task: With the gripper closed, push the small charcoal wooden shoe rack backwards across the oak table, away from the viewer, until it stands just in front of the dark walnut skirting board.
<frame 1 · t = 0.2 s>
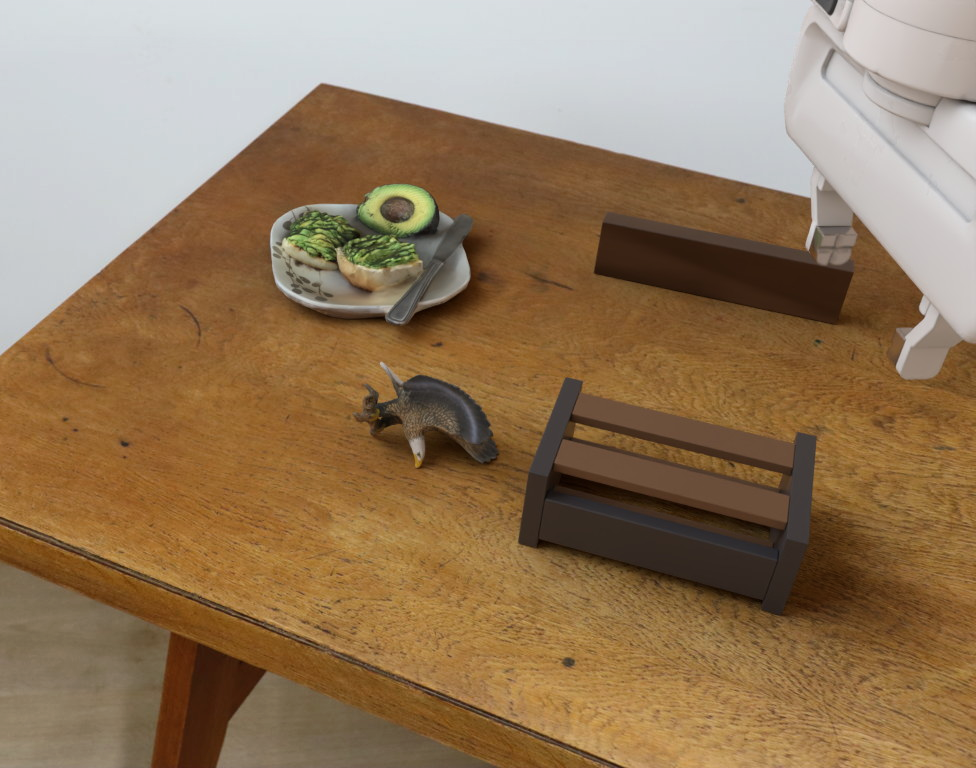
hand: (864, 310, 53), 21 cm above the table, tool pointing down, fingers open, 8 cm apart
shoe rack: (658, 524, 71), on the table
eagle figurine: (426, 450, 76), on the table
salad plate: (372, 265, 94), on the table
skirting board: (713, 292, 93), on the table
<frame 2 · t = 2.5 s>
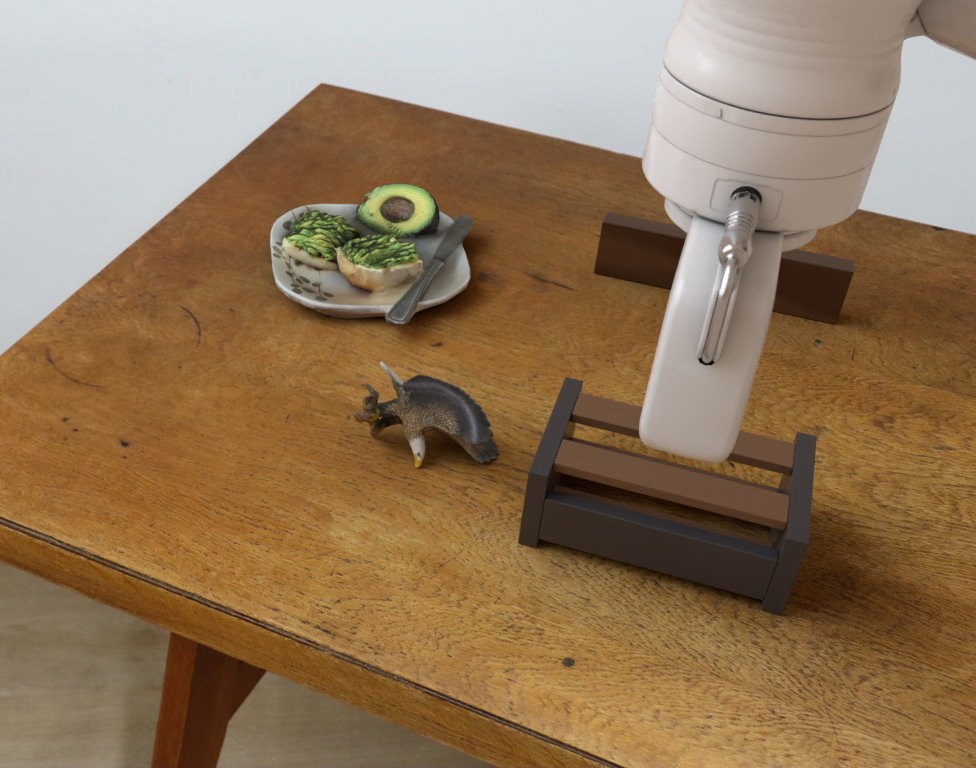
hand: (688, 410, 53), 17 cm above the table, tool pointing down, fingers closed
nothing on the table moved.
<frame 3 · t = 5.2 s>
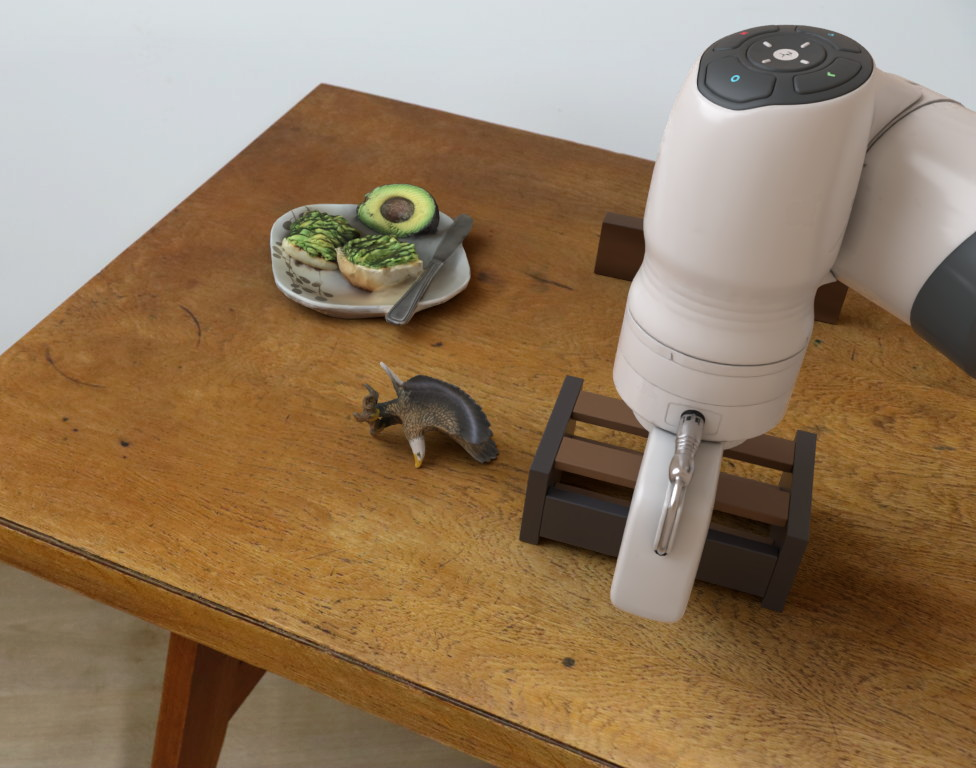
hand: (654, 554, 64), 3 cm above the table, tool pointing down, fingers closed
shoe rack: (659, 521, 71), on the table, touching gripper
everything else where it was.
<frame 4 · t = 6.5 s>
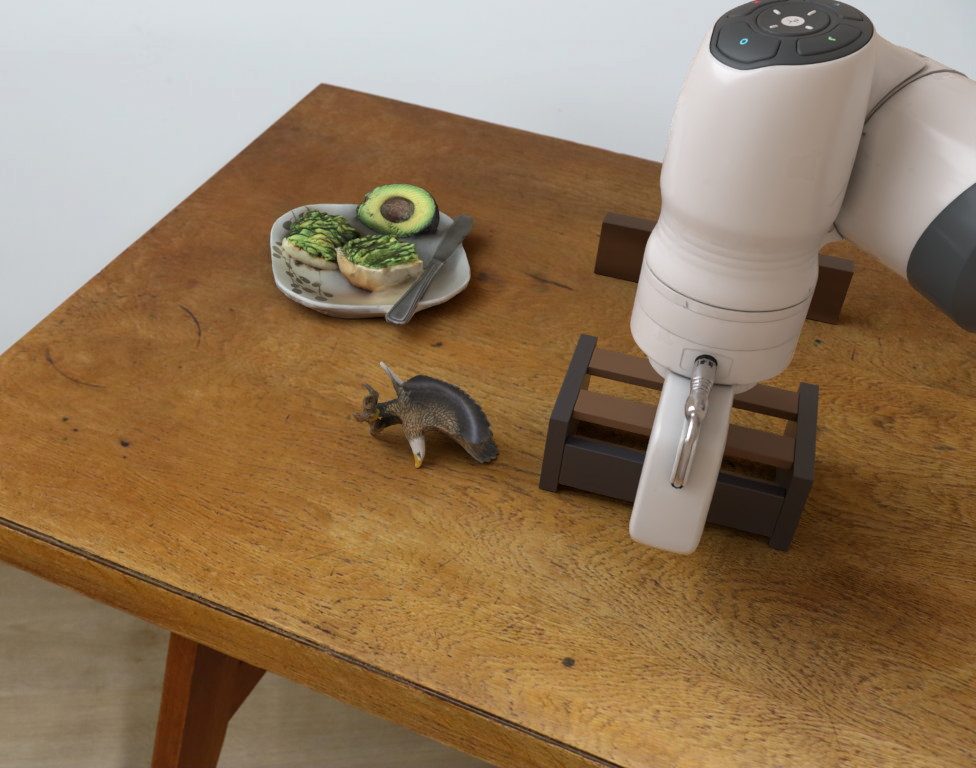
hand: (668, 499, 68), 3 cm above the table, tool pointing down, fingers closed
shoe rack: (670, 470, 75), on the table, touching gripper
everything else where it was.
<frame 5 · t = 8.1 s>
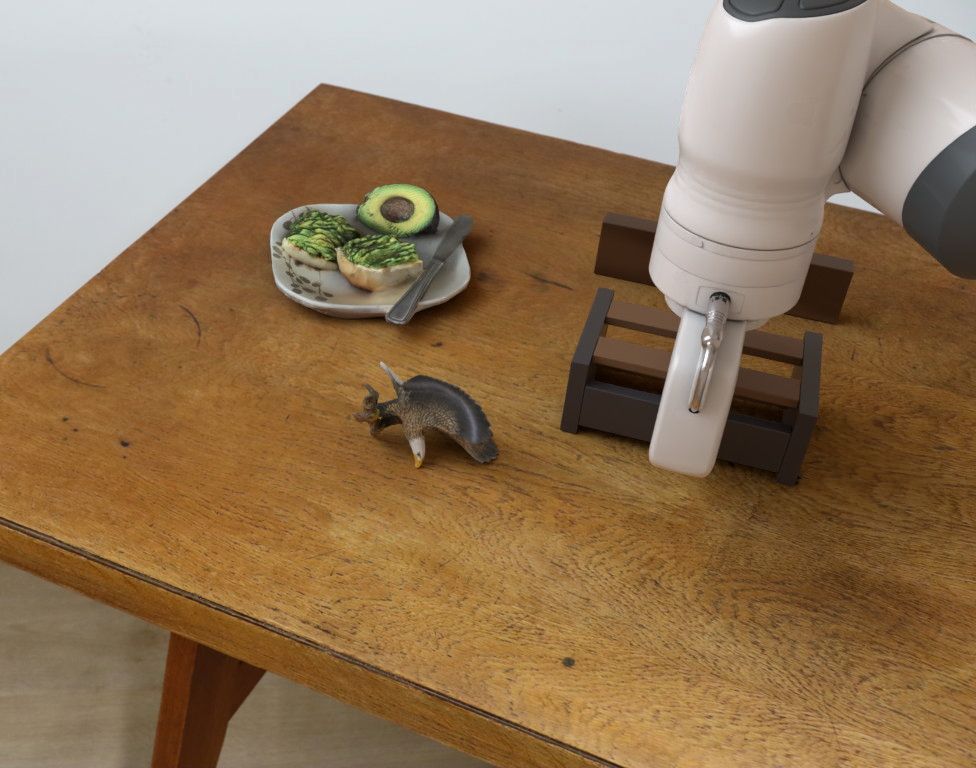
hand: (682, 436, 73), 3 cm above the table, tool pointing down, fingers closed
shoe rack: (683, 415, 80), on the table, touching gripper
everything else where it was.
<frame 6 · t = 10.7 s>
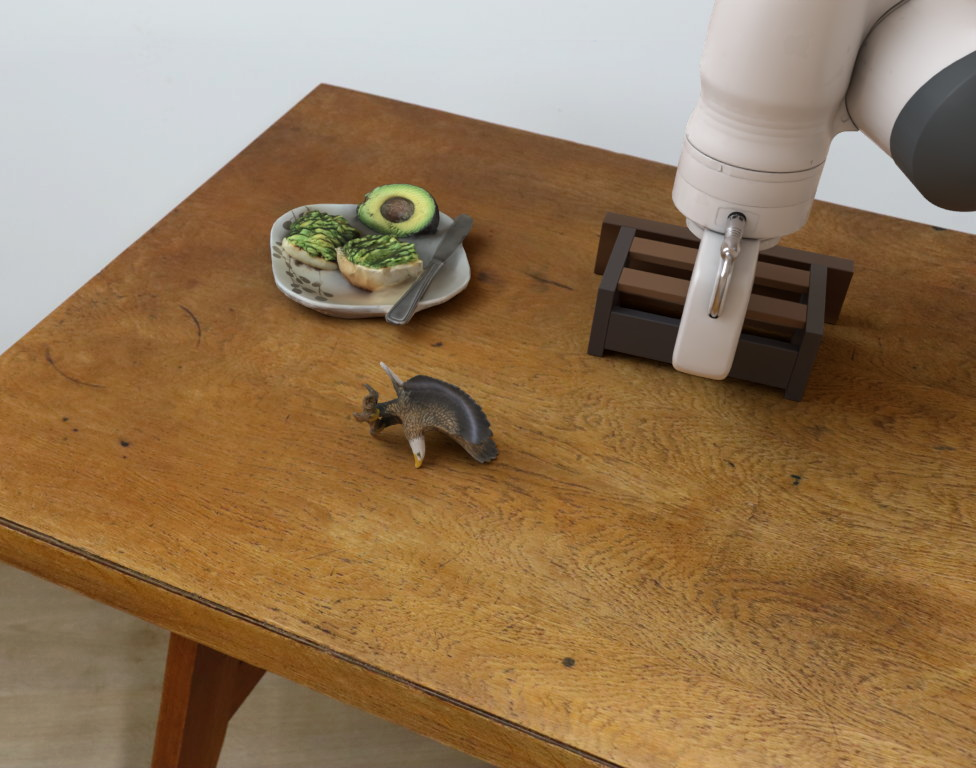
hand: (700, 355, 80), 3 cm above the table, tool pointing down, fingers closed
shoe rack: (699, 341, 87), on the table, touching gripper
everything else where it was.
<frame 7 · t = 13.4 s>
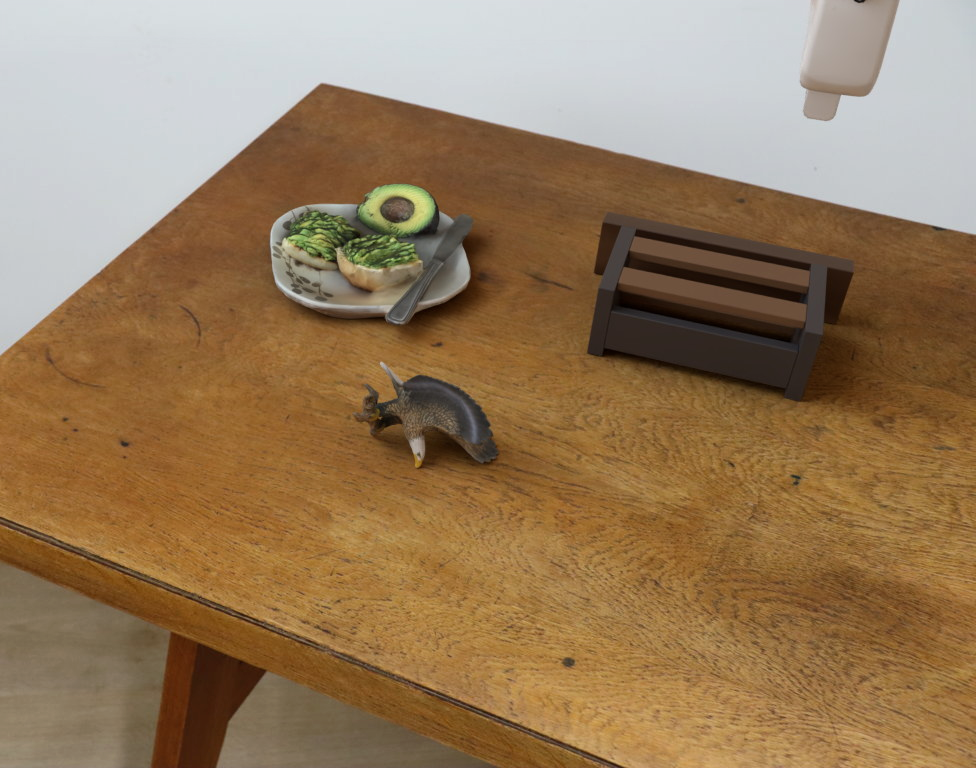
hand: (818, 110, 65), 24 cm above the table, tool pointing down, fingers closed
shoe rack: (699, 341, 87), on the table
everything else where it was.
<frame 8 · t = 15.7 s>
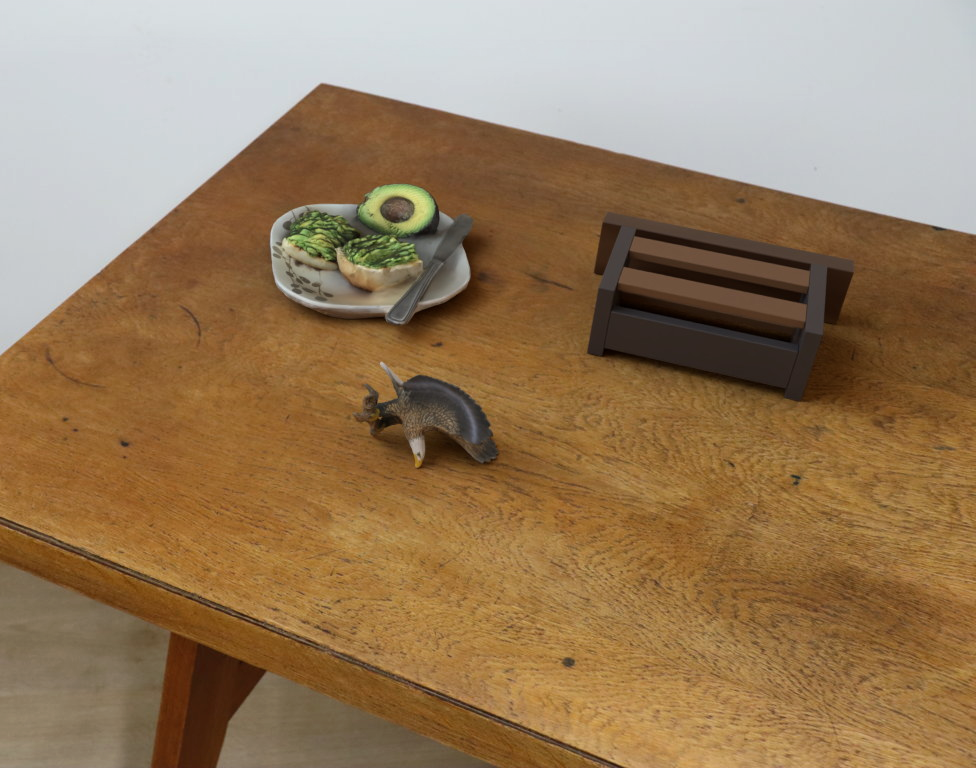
nothing on the table moved.
at the end: shoe rack inside the target area on the table beside the skirting board (5.0 cm from its centre), on the table; shoe rack tilted 0°; shoe rack moved 21.7 cm from its start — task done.
